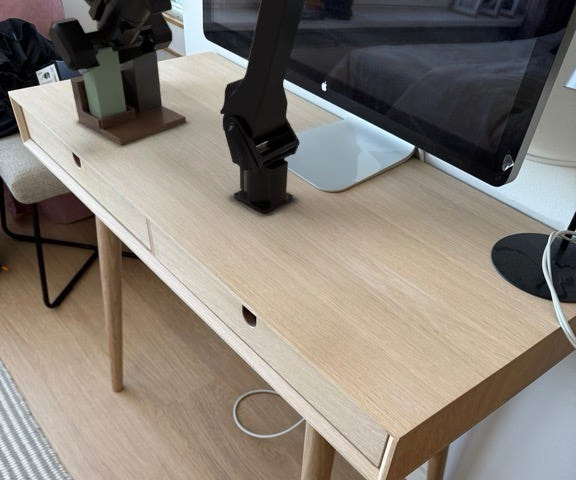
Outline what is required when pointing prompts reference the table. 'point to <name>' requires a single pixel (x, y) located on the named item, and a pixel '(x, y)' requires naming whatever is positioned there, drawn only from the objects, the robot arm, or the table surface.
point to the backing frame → (131, 104)
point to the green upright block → (105, 85)
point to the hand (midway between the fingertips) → (98, 67)
